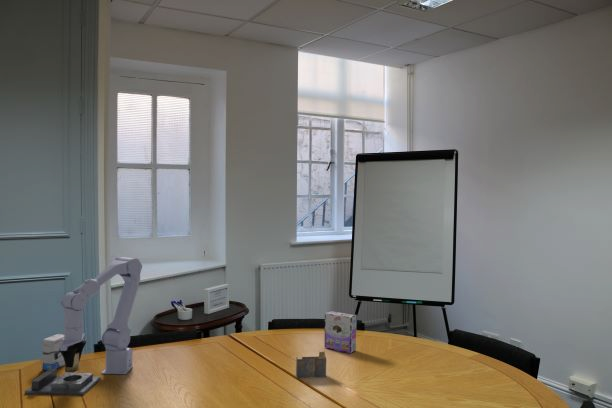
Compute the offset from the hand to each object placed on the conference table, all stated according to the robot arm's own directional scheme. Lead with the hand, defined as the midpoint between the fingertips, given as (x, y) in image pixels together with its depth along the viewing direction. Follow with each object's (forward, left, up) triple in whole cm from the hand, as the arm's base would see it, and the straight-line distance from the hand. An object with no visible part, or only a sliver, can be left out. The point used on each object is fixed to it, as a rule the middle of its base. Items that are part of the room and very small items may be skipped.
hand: (72, 364), depth 171 cm
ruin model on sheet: (-85, -14, -9) cm, 87 cm away
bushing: (0, 0, -2) cm, 2 cm away
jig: (+3, 0, -8) cm, 8 cm away
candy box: (-99, -47, -8) cm, 110 cm away
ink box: (+16, -19, -8) cm, 26 cm away
